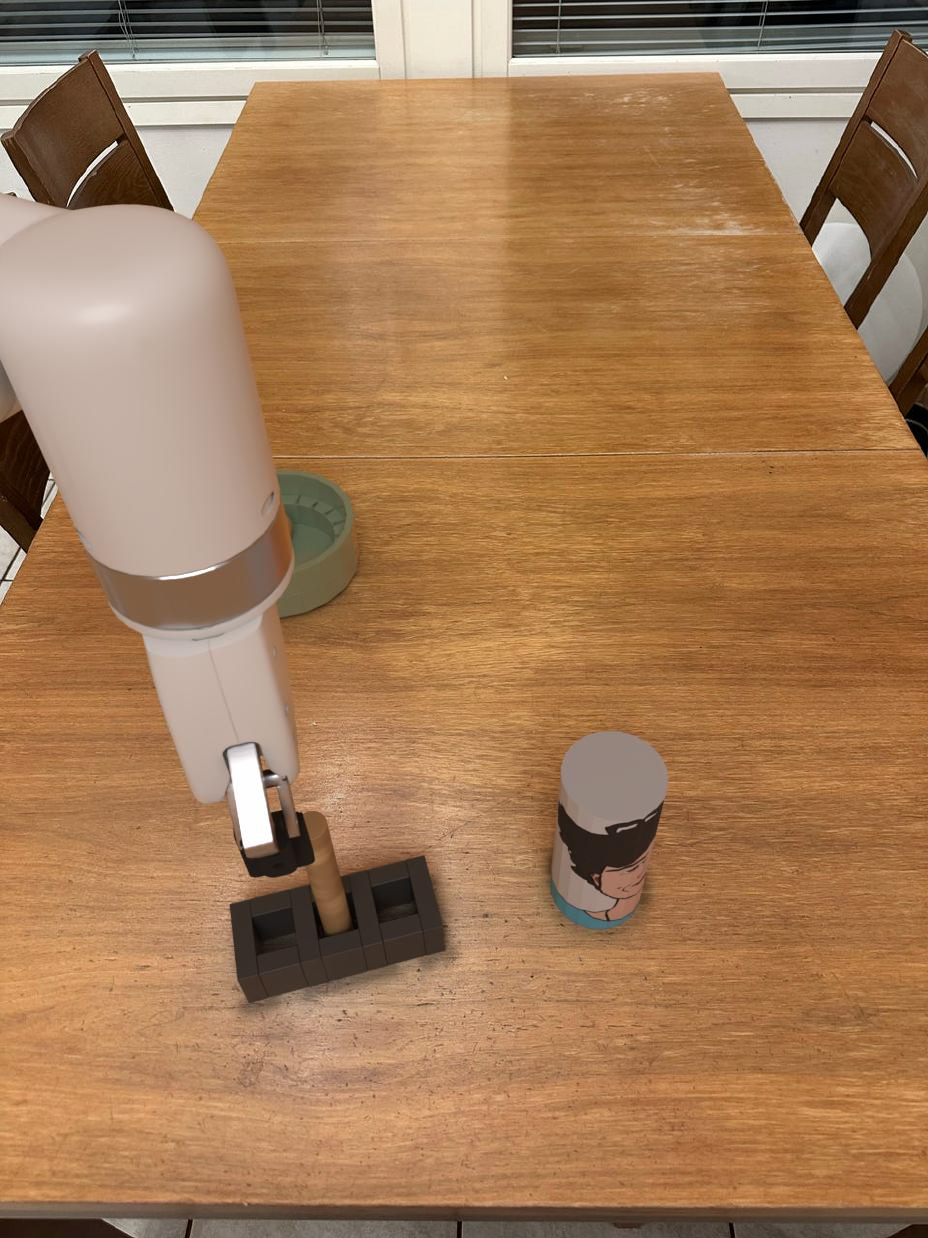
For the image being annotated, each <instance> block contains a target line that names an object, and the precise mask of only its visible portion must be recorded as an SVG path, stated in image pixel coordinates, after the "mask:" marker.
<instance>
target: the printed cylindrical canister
mask: <svg viewBox="0 0 928 1238" xmlns="http://www.w3.org/2000/svg"><path fill="white" fill-rule="evenodd" d="M667 768H668V767H667V764H665V762H664V760H663V758H662V756H661V754H660V753H659V752H658V751H657V750H656V749H655V748H654V747H653V746H652V745H651V744H650V743H648V742H646V741H645V740H644V739H642V738H640V737H638V736H636V735H634V734H631V733H627V732H623V731H620V730H619V731H618V730H617V731H616V730H601V731H597V732H594V733H589V734H586V735H585V736H583V737H582V738H580V739H578V740H576V741H575V742H574V743H572V745H571V746H570V748H569V749H568V750H567V751H566V752H565V754H564V756H563V759H562V763H561V765H560V774H559V785H558V796H557V805H556V816H555V826H554V837H553V847H552V848H553V850H552V858H551V869H550V881H549V882H550V894H551V896H552V899H553V901H554V903H555V906H556V907H557V909H558V910H559V911H560V912H561V913H562V915H563V916H564V917H565V918H567V919H568V920H570V921H572V923H574V924H576V925H577V926H581V927H583V928H587V929H590V930H608V929H611V928H614V927H617V926H620V925H622V924H624V923H625V922H626V921H627V920H628V919H630V918H631V917H632V916H633V914H634V912H635V911H636V910H637V908H638V907H639V903H640V899H641V896H642V893H643V887H644V884H645V879H646V875H647V871H648V867H649V863H650V860H651V856H652V853H653V848H654V843H655V840H656V835H657V831H658V828H659V823H660V820H661V815H662V811H663V807H664V803H665V799H666V795H667V791H668V787H669V783H670V780H669V774H668V769H667Z"/></svg>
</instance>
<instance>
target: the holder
mask: <svg viewBox="0 0 928 1238" xmlns="http://www.w3.org/2000/svg"><path fill="white" fill-rule="evenodd" d="M426 859H427V858H426V855H425V854H422V855H419V856H415V857H412V858H408V859H403V860H400V861H396V862H392V863H388V864H385V865H380V866H376V867H372V868H368V869H364V870H360V871H356V872H351V873H348V874H344V875H340V876H341V880H342V884H343V888H344V892H345V896H346V900H347V904H348V908H349V912H350V916H351V919H353V918H356V922H357V927H358V928H356V929H354V930H352V931H349V932H345V933H341V934H337V935H333V936H330V937H326V936H325V937H322V932H321V927H323V925H322V922H321V918H320V915H319V912H318V908H317V905H316V902H315V898H314V895H313V892H312V888H311V885H310V883H307V884H304V885H299V886H296V887H292V888H291V887H290V888H287V889H284V890H279V891H276V892H272V893H267V894H264V895H259V896H256V897H252V898H248V899H244V900H240V901H237V902H232V903H230V904H229V915H230V923H231V931H232V932H231V934H232V941H233V943H232V944H233V952H234V962H235V971H236V979H237V983H238V984H239V987H240V989H241V991H242V993H243V995H244V996H245V998H246V1000H247V1003H248V1004H252V1003H255V1002H259V1001H262V1000H267V999H269V998H273V997H277V996H281V995H284V994H288V993H291V992H295V991H299V990H304V989H306V988H311V987H315V986H319V985H322V984H326V983H329V982H332V981H337V980H341V979H344V978H348V977H352V976H355V975H361V974H363V973H366V972H367V973H368V972H370V971H374V970H377V969H382V968H385V967H388V966H391V965H396V964H400V963H403V962H407V961H411V960H414V959H418V958H423V957H425V956H430V955H435V954H437V953H438V954H439V953H441V952H446V942H445V933H444V932H445V931H444V924H443V920H442V916H441V913H440V909H439V905H438V901H437V897H436V893H435V890H434V887H433V883H432V879H431V874H430V871H429V866H428V863H427V860H426ZM411 903H413V907H414V911H415V913H414V914H411V915H408V916H403V917H400V918H396V919H392V920H388V921H383V922H379V917H378V913H377V912H381V911H384V910H388V909H391V908H395V907H399V906H403V905H408V904H411ZM292 934H296V935H295V936H296V944H297V945H293V946H288V947H284V948H281V949H277V950H273V951H270V952H269V951H268V952H265V953H264V949H263V942H266V941H269V940H273V939H276V938H277V939H278V938H281V937H285V936H288V935H292Z"/></svg>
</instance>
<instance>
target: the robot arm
mask: <svg viewBox="0 0 928 1238" xmlns="http://www.w3.org/2000/svg"><path fill="white" fill-rule="evenodd" d="M236 290H237V289H236V287H235V283H234V280H233V276H232V274H231V268H230V266H229V263H228V260H227V258H226V257H225V255H224V252H223V250H222V249H221V247H220V246H219V244H218V242H217V241H216V240H215V238H214V236H213V235H211V234H210V233H209V232H208V231H207V230H206V229H205V228H204V227H202V226H201V225H200V224H199V223H198V222H197V221H194V220H193V219H191V218H189V217H188V216H186V215H183V214H181V213H178V212H176V211H173V210H170V209H167V208H163V207H159V206H154V205H145V204H126V203H125V204H124V203H123V204H107V205H99V206H91V207H85V208H79V209H74V210H72V209H69V208H63V207H60V206H59V207H58V206H54V205H49V204H46V203H42V202H37V201H33V200H30V199H26V198H23V197H18V196H14V195H11V194H7V193H4V192H0V424H1V423H2V422H4V421H5V420H8V419H9V418H11V417H12V416H14V415H15V414H17V413H18V412H21V411H22V412H23V414H24V416H25V418H26V420H27V423H28V424H29V427H30V429H31V432H32V434H33V436H34V438H35V440H36V443H37V445H38V447H39V449H40V451H41V455H42V456H43V459H44V461H45V463H46V465H47V467H48V470H49V472H50V475H51V476H52V478H53V480H54V483H55V486H56V487H57V490H58V492H59V494H60V497H61V499H62V501H63V503H64V505H65V508H66V510H67V513H68V514H69V517H70V519H71V521H72V524H73V526H74V528H75V530H76V533H77V535H78V538H79V539H80V541H81V543H82V547H83V549H84V551H85V553H86V556H87V558H88V560H89V563H90V564H91V567H92V569H93V571H94V574H95V576H96V578H97V580H98V583H99V585H100V587H101V590H102V591H103V594H104V596H105V598H106V601H107V602H108V605H109V607H110V609H111V611H112V612H113V614H114V616H115V617H116V618H117V619H118V620H119V621H120V622H122V623H123V624H124V625H125V626H127V627H128V628H130V629H131V630H133V631H134V632H135V631H136V632H137V633H140V634H141V636H142V637H141V638H142V643H143V645H144V650H145V655H146V659H147V663H148V666H149V670H150V674H151V678H152V681H153V685H154V688H155V691H156V694H157V697H158V701H159V704H160V707H161V711H162V713H163V717H164V720H165V723H166V725H167V728H168V731H169V734H170V737H171V740H172V742H173V745H174V748H175V750H176V753H177V756H178V758H179V759H178V760H179V761H180V764H181V767H182V770H183V773H184V775H185V778H186V780H187V783H188V786H189V789H190V792H191V794H192V797H193V798H194V799H195V800H197V802H199V803H200V804H202V805H204V806H205V805H210V804H217V803H221V802H223V801H224V798H225V797H226V801H227V805H228V810H229V815H230V819H231V823H232V833H233V839H234V841H235V844H236V846H237V849H238V852H239V853H240V856H241V858H242V861H243V863H244V865H245V868H246V870H247V872H248V876H249V877H251V878H257V879H258V878H262V877H267V878H269V879H273V878H274V879H276V878H280V877H284V876H288V875H291V874H293V873H295V872H296V871H297V870H298V868H303V867H305V866H307V865H310V864H312V863H314V862H315V856H314V850H313V847H312V843H311V840H310V837H309V833H308V830H307V826H306V823H305V820H304V816H303V813H304V812H303V811H298V810H296V806H295V803H294V797H293V793H292V788H291V785H292V784H293V783H294V782H295V781H296V780H297V779H298V777H299V775H300V773H301V765H300V753H299V743H298V742H299V741H298V733H297V723H296V714H295V713H296V712H295V705H294V697H293V695H294V694H293V689H292V681H291V675H290V667H289V661H288V654H287V647H286V645H285V638H284V633H283V628H282V624H281V618H279V614H278V610H277V605H276V601H277V600H278V599H279V598H280V597H281V595H282V594H283V592H284V591H285V589H286V588H287V587H288V585H289V583H290V580H291V577H292V575H293V571H294V566H295V555H294V550H293V546H292V542H291V537H290V532H289V528H288V523H287V519H286V514H285V510H284V505H283V501H282V497H281V492H280V487H279V483H278V478H277V474H276V470H277V469H276V466H275V461H274V457H273V453H272V447H271V443H270V439H269V434H268V430H267V426H266V421H265V416H264V412H263V407H262V403H261V398H260V394H259V389H258V385H257V379H256V375H255V372H254V371H255V370H254V367H253V363H252V357H251V354H250V349H249V344H248V340H247V335H246V330H245V327H244V322H243V317H242V314H241V309H240V308H241V307H240V304H239V300H238V295H237V291H236ZM262 756H263V758H264V762H265V765H266V768H267V769H263V764H262V759H261V757H262ZM271 788H276V790H277V796H278V800H279V804H280V808H281V809H279V810H275V811H271V806H270V801H269V796H268V789H271Z"/></svg>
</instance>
